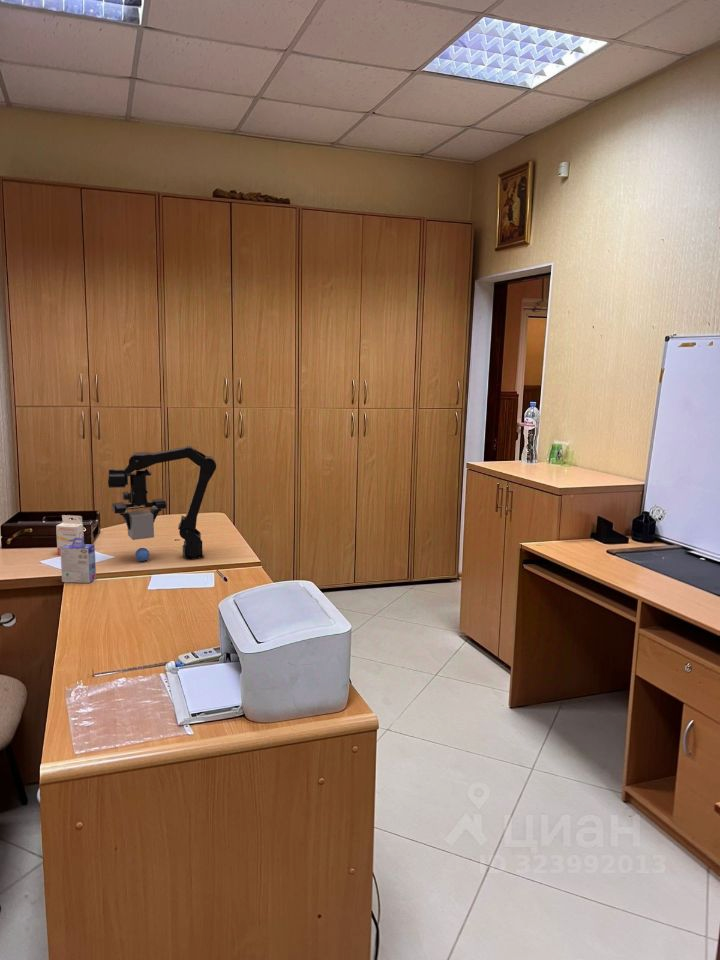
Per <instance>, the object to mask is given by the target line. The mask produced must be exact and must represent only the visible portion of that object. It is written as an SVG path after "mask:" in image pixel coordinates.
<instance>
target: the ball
mask: <svg viewBox="0 0 720 960" xmlns="http://www.w3.org/2000/svg"><path fill="white" fill-rule="evenodd" d="M149 557H150V551H149V550H148V549H147V548H145V547H139V548H138V549H137V550H136V551H135V559H136V560H137V561H139V562H145V560H146V561H147V560H148V559H149Z"/></svg>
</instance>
